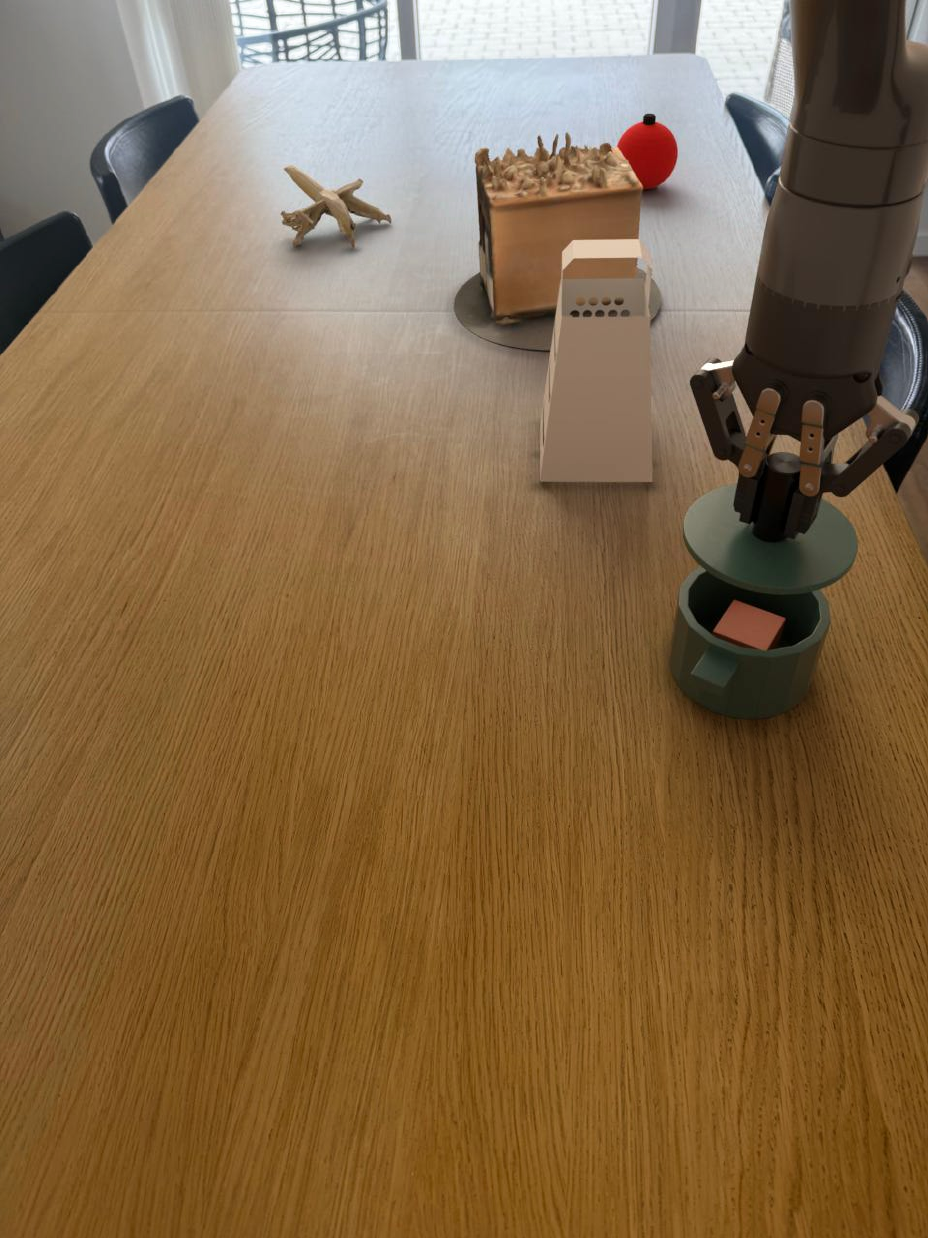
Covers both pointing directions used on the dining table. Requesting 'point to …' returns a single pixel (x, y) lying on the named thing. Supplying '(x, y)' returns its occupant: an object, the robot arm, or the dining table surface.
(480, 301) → the planter
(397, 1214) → the dining table surface
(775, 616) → the block
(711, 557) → the lid
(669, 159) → the ornament
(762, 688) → the pot
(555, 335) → the grater
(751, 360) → the robot arm
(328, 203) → the branching beige root
